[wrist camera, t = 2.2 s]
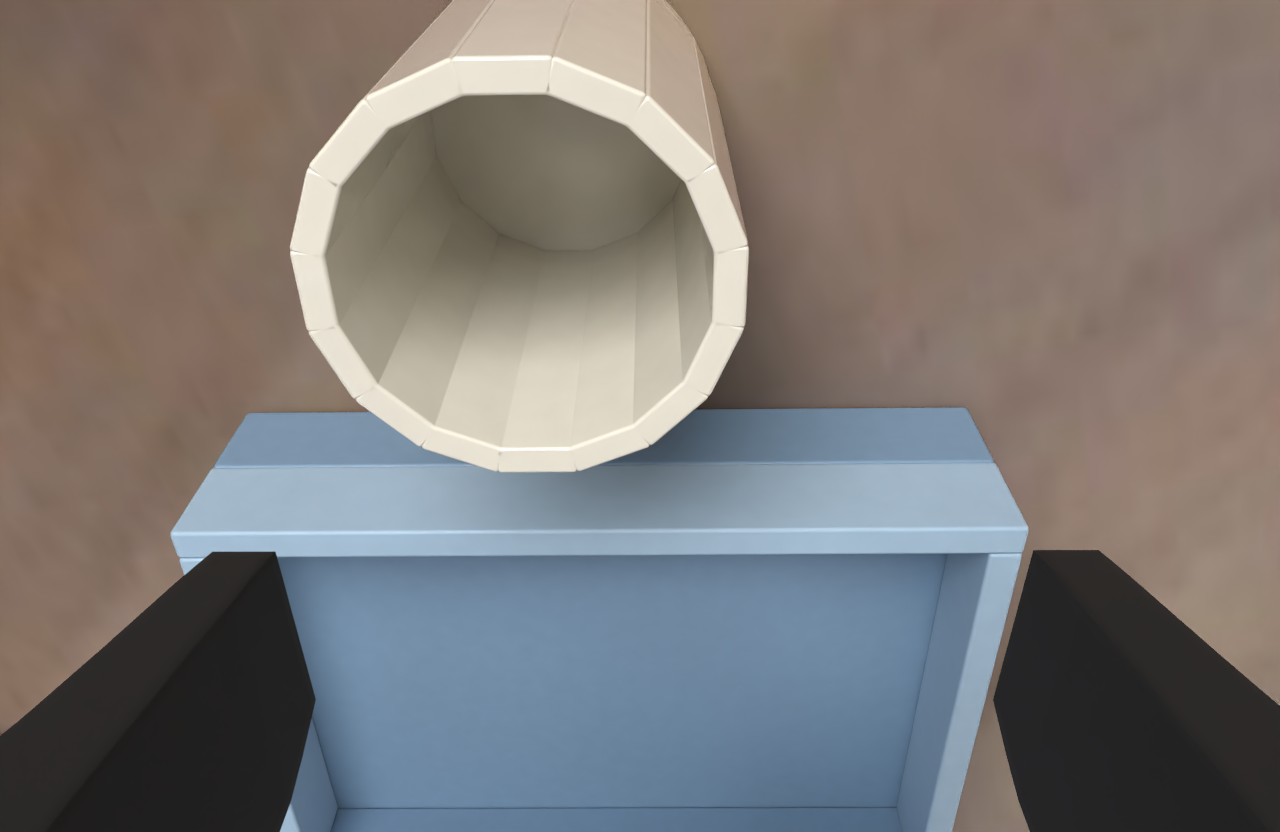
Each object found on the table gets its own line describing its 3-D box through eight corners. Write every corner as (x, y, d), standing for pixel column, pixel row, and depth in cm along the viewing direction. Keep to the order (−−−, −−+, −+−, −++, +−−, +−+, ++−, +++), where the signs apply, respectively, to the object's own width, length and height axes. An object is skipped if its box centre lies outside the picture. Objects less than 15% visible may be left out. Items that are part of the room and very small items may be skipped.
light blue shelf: (340, 756, 26) (267, 984, 21) (246, 411, 21) (115, 614, 15) (899, 754, 26) (958, 985, 21) (967, 405, 20) (1072, 609, 15)
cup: (436, 257, 19) (338, 475, 13) (395, -42, 16) (244, 60, 10) (710, 255, 19) (738, 472, 13) (717, -47, 16) (759, 52, 10)
